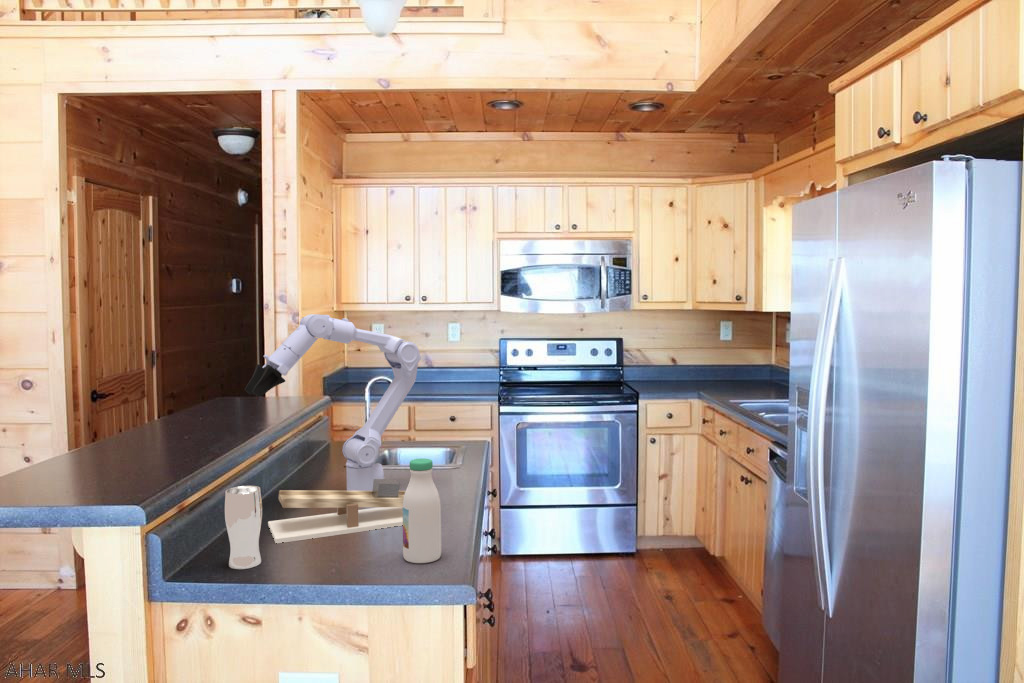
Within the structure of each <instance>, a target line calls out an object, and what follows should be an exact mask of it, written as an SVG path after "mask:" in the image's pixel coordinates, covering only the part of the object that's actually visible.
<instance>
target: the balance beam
mask: <svg viewBox="0 0 1024 683" xmlns="http://www.w3.org/2000/svg"><path fill="white" fill-rule="evenodd" d="M405 492H406V490H399V494H398V498H374V497H373V496H372V491H347V490H321V489H320V490H315V489H313V490H312V489H311V490H306V489H305V490H301V489H300V490H293V489H289V490H287V489H285V490H282V489H280V490H279V491H278V501H279V503H280V504H281V507H282V508H283V509H296V508H298V509H299V508H301V509H304V508H305V509H306V508H308V509H309V508H312V509H313V508H318V509H319V508H320V509H321V508H323V509H325V508H326V509H327V508H331V509H332V508H336V509H337V508H341V507H346V505H349V504H358V508H377V507H403V499H404V494H405Z"/></svg>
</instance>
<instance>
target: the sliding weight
mask: <svg viewBox="0 0 1024 683" xmlns="http://www.w3.org/2000/svg"><path fill="white" fill-rule="evenodd" d="M400 485H401V484H400V482H398V481H397V480H396V479H395V478H384V479H374V481H373V491H372V496H373V497H374V498H398V494H399V491H400Z"/></svg>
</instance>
